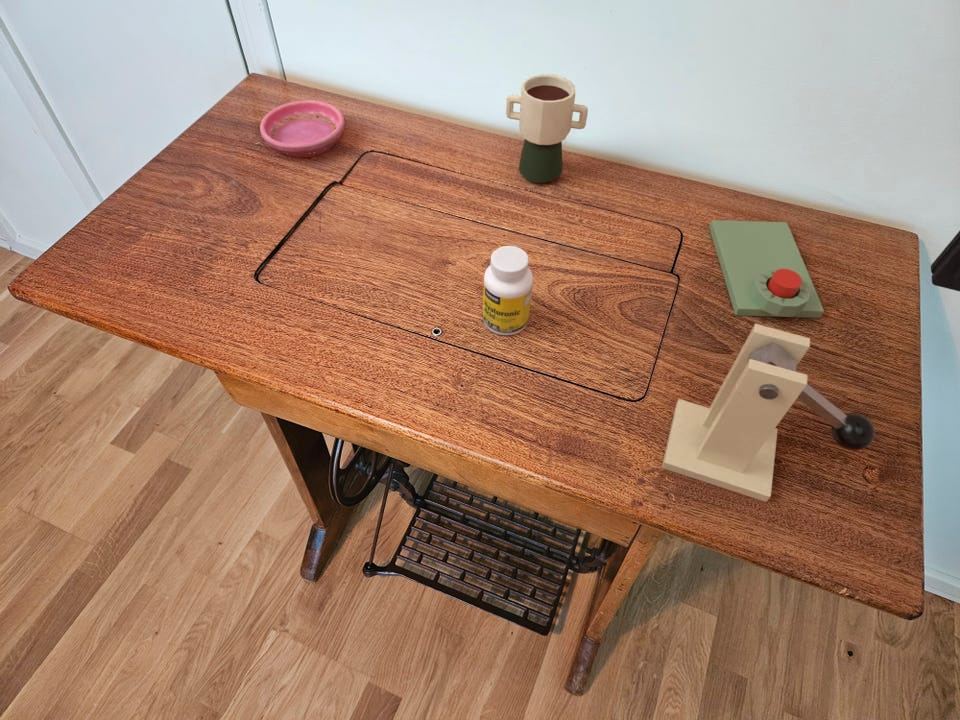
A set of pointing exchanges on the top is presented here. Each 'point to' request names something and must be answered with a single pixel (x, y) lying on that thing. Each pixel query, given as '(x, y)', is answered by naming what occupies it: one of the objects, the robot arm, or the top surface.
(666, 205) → the top surface
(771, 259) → the button box
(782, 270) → the button
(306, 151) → the saucer
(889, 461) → the top surface
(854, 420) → the lever
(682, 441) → the switch bracket
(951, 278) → the robot arm
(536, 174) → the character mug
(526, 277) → the supplement bottle
